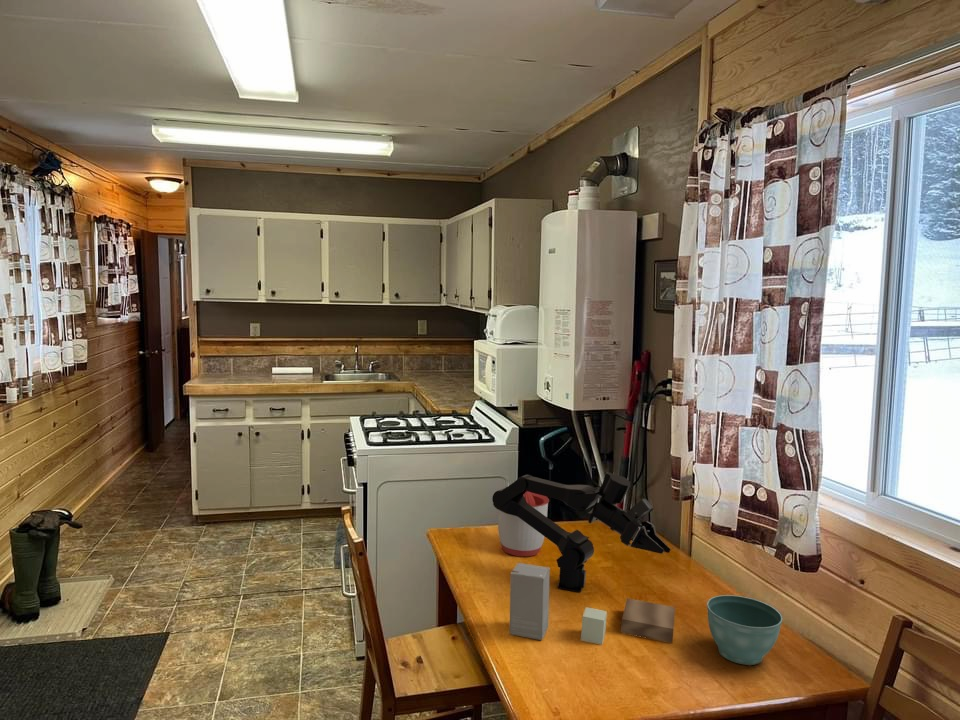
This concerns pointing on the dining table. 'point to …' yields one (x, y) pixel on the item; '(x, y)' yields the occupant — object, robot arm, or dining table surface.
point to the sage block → (593, 625)
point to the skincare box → (529, 601)
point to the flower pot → (743, 627)
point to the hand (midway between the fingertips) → (666, 551)
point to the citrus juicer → (522, 529)
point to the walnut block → (648, 620)
